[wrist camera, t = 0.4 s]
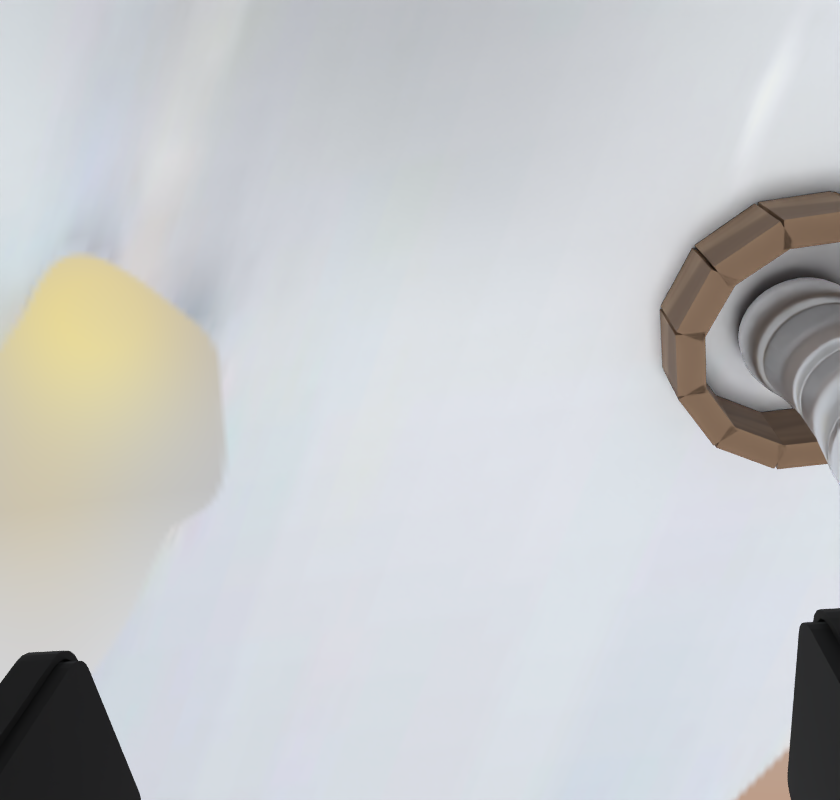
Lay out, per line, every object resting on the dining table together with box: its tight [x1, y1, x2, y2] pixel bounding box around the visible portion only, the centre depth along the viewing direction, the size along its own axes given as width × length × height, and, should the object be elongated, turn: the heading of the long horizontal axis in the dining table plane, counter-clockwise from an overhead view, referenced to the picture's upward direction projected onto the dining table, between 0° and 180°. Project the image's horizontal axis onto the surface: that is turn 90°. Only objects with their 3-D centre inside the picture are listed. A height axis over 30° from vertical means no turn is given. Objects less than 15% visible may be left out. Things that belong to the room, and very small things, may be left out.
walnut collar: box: [660, 191, 840, 469], centre depth 43 cm, size 14×14×4 cm
